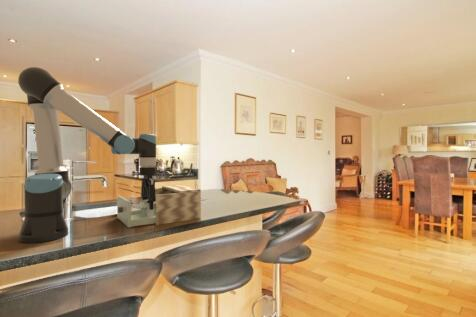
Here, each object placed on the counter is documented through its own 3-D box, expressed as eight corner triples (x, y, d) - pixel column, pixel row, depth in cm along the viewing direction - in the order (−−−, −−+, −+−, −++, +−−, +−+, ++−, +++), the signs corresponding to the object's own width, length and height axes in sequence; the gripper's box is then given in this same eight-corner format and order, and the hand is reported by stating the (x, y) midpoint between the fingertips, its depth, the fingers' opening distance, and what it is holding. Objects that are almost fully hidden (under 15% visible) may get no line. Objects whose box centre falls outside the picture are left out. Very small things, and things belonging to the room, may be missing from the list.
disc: (141, 209, 124) (141, 204, 124) (137, 206, 130) (137, 201, 130) (159, 207, 128) (159, 202, 128) (154, 205, 135) (154, 200, 135)
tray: (124, 228, 113) (123, 202, 112) (113, 217, 131) (113, 195, 131) (176, 220, 125) (176, 197, 125) (160, 212, 144) (160, 192, 144)
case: (156, 224, 119) (156, 192, 119) (141, 214, 140) (140, 187, 140) (200, 218, 131) (200, 189, 131) (180, 210, 152) (180, 184, 152)
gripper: (163, 167, 123) (163, 217, 123) (149, 165, 140) (149, 210, 140) (146, 167, 118) (146, 220, 119) (134, 166, 136) (134, 212, 136)
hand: (148, 214), depth 129 cm, fingers closed on disc, 8 cm apart
